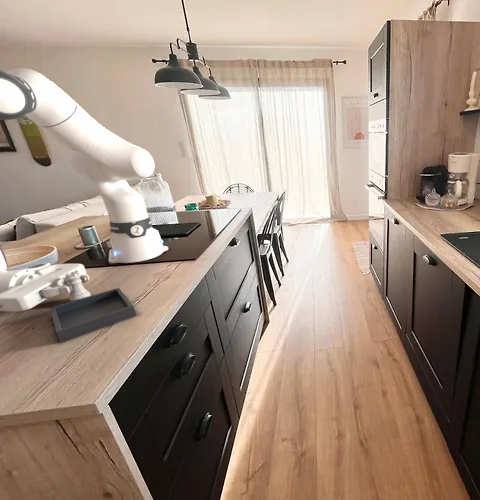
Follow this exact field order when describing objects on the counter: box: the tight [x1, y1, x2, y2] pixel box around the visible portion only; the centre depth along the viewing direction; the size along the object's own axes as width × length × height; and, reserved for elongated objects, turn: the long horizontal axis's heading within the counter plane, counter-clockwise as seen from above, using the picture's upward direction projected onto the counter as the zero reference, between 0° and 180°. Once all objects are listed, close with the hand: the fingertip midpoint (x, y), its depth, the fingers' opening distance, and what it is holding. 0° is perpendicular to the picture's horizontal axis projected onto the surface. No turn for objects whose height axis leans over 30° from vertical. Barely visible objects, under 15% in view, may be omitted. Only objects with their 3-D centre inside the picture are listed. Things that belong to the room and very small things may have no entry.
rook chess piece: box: [64, 272, 93, 302], centre depth 76 cm, size 4×4×8 cm
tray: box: [49, 287, 137, 343], centre depth 70 cm, size 15×14×3 cm
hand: (79, 283), depth 76 cm, fingers open, 5 cm apart
